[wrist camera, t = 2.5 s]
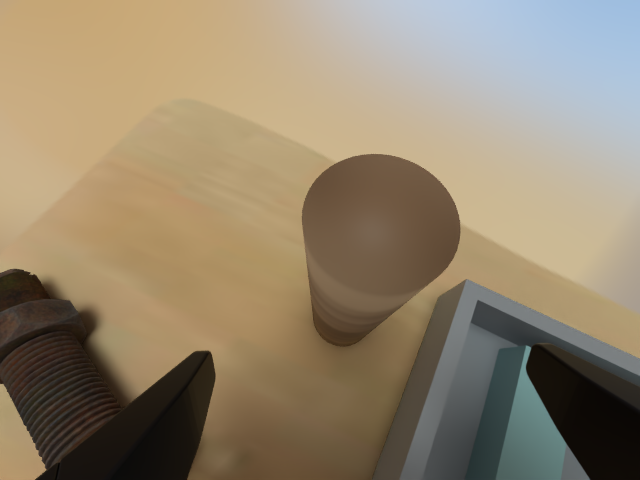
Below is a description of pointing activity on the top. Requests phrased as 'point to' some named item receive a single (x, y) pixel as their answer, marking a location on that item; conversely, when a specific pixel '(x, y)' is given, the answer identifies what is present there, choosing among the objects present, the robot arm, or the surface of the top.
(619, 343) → the top surface
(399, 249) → the peg
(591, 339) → the rim box
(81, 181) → the top surface
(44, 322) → the bolt
